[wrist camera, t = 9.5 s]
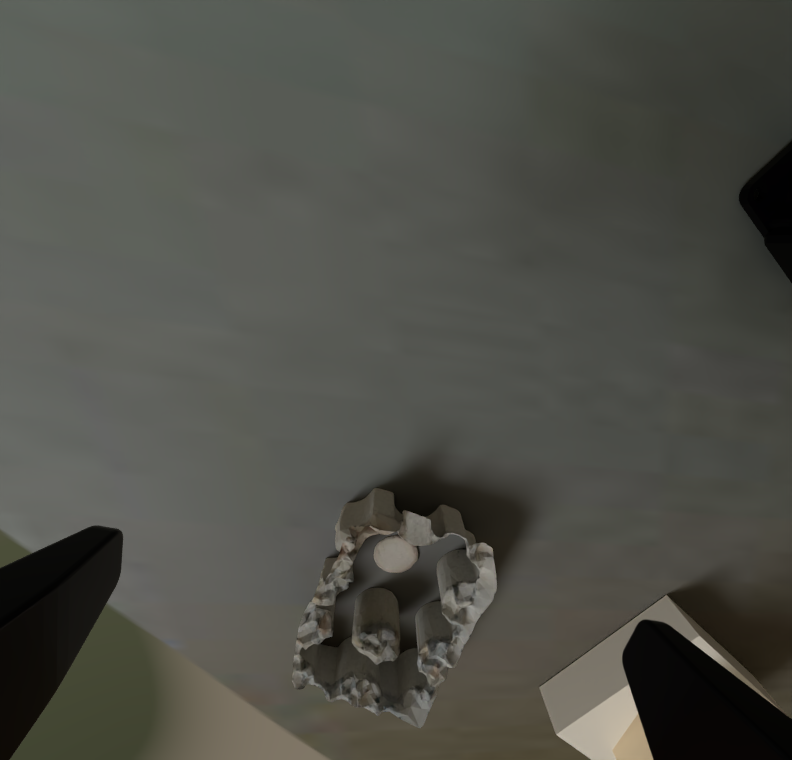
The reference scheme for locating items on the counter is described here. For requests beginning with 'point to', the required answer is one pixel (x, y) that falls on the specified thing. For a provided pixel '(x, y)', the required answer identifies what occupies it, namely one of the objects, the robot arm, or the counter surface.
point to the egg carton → (393, 612)
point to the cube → (633, 743)
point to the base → (619, 684)
